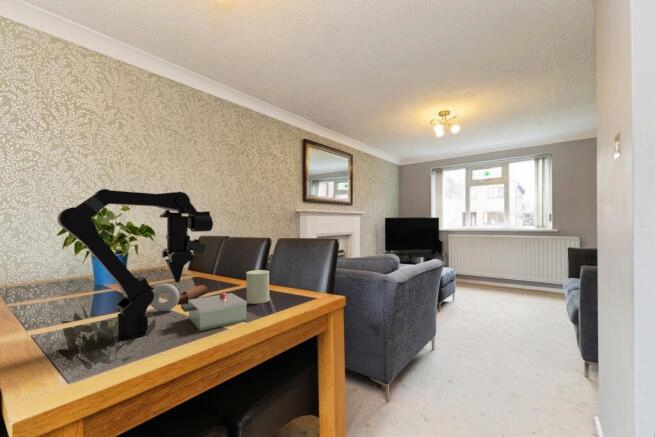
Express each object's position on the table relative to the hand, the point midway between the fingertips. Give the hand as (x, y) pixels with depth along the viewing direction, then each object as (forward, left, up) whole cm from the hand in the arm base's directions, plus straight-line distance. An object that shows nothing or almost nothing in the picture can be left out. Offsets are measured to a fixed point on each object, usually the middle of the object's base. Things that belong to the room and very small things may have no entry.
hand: (177, 282), depth 91 cm
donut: (-1, +17, -13) cm, 22 cm away
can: (+31, +9, -13) cm, 35 cm away
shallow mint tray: (+11, -4, -13) cm, 17 cm away
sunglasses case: (+10, +32, -14) cm, 36 cm away
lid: (+9, -4, -8) cm, 13 cm away
